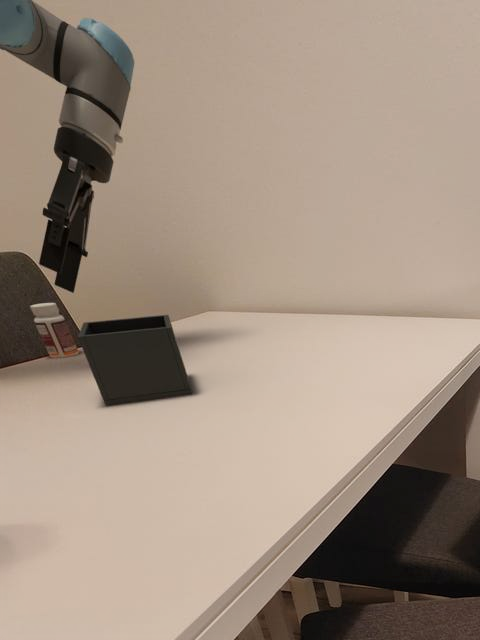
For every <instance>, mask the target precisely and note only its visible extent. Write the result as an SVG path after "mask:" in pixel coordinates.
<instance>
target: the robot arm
mask: <svg viewBox="0 0 480 640" xmlns="http://www.w3.org/2000/svg"><path fill="white" fill-rule="evenodd" d="M0 50H1V51H5V52H7V53H9V54H11V55H12V56H13V57H15V58H17V59H19V60H20V61H22V62H24V63H25V64H27V65H29V66H31V67H33V68H34V69H36V70H38V71H39V72H41V73H43V74H45V75H46V76H48V77H49V78H52V79H53V80H55V81H56V82H58V83H59V84H61V85H63V86H65V87H66V89H65V92H64V96H63V101H62V105H61V109H60V112H59V113H60V114H59V118H58V123H59V125H60V127H58V128H57V131H56V136H55V140H54V144H53V153H54V155H55V156H56V157H57V158H58V160H60V161H61V165H60V169H59V171H58V174H57V177H56V180H55V182H54V186H53V188H52V191H51V194H50V197H49V200H48V202H47V204H46V207H47V208H46V207H43V208H42V216H43V217H46V218H47V224H46V229H45V233H44V237H43V243H42V247H41V252H40V257H39V261H38V264H39V266H41V267H44V268H46V269H48V270H50V271H53V272H55V273H56V275H55V279H54V286H56V287H58V288H61V289H63V290H65V291H68V292H70V293H72V294H74V293H75V288H76V284H77V280H78V276H79V270H80V267H81V261H82V257H84V258H88V256H89V251H87V249H86V247H87V238H88V232H89V225H90V219H91V210H92V205H93V201H94V198H95V191H94V190H93V185H92V182H97V183H99V184H108V183H109V182H110V180H111V175H112V172H113V168H114V167H113V166H114V159H113V157H114V156H115V155H116V150H117V147H118V145H117V143H119V144H123V143H124V138H123V137H122V136H121V135H120V133H121V129H122V125H123V121H124V118H125V112H126V109H127V103H128V100H129V97H130V92H131V89H132V88H131V87H132V79H133V73H134V68H135V59H134V55H133V53H132V51H131V49H130V47H129V45H128V44H127V43H126V42H125V41H124V39H123V38H122V37H121V36H120V35H119V34H117V32H115V31H114V30H113V29H112V28H110V27H109V26H107V25H106V24H105V23H104V22H100V21H96V19H94V18H91V17H84V18H81V20H80V21H79V24H77V26H76V27H75V26H74V25H72V24H69V23H68V22H66V21H64V20H62V19H61V18H59V17H57V16H56V15H55V14H53V13H52V12H50V11H49V10H47V9H46V8H44V7H43V6H41V5H39V3H37V2H36V1H34V0H0Z"/></svg>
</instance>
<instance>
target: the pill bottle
mask: <svg viewBox="0 0 480 640" xmlns="http://www.w3.org/2000/svg"><path fill="white" fill-rule="evenodd" d="M29 308H30V311H31V312H32V314H33V316H35V317H34V319H33V320H34V321H33V322H34V324H35V327H36V329H37V332H38V333H39V336H40V337H41V340H42V342H43V344H44V347H45V349H46V352H47V353H48V355H49V357H50V358H53V359H61V358H68V357H73V356H76V355H78V354H79V350H78V348H77V345H76V343H75V341H74V338H73V336H72V335H73V334H72V333H71V331H70V329H69V326H68V324H67V321H66V319H65V317H64V316H63V315H61V314H59V313H60V309H59V307H58V305H57V303H56V302H44V303H43V302H42V303H36V304H32V305H29Z"/></svg>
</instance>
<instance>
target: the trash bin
mask: <svg viewBox="0 0 480 640" xmlns="http://www.w3.org/2000/svg"><path fill="white" fill-rule="evenodd" d="M77 339H78V342H79V343H80V346H81V349H82V351H83V354H84V356H85V358H86V361H87V364H88V365H89V368H90V370H91V371H90V372H91V374H92V376H93V378H94V380H95V381H94V382H95V383H96V386H97V388H98V391H99V393H100V396H101V398H102V400H103V403H104V405H105V407H110V406H117V405H125V404H131V403H133V404H134V403H139V402H146V401H154V400H161V399H169V398H177V397H183V396H190V395H193V391H192V386H191V383H190V379H189V376H188V373H187V370H186V366H185V363H184V360H183V356H182V354H181V350H180V347H179V345H178V341H177V337H176V334H175V331H174V328H173V325H172V321H171V318H170V316H169V314H160V315H149V316H139V317H138V316H137V317H130V318H129V317H128V318H118V319H107V320H98V321H97V320H96V321H87V322H83V323H82V325H81V328H80V330H79V333H78V335H77Z"/></svg>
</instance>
